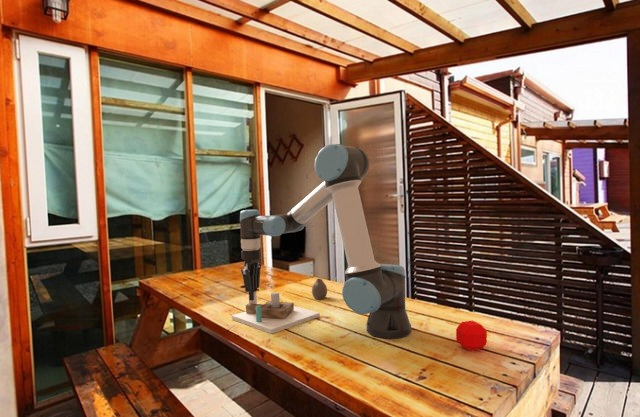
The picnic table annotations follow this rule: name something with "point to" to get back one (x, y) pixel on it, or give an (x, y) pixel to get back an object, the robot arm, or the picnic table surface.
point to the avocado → (319, 289)
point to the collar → (272, 310)
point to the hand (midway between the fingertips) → (253, 307)
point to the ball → (471, 335)
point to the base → (271, 323)
